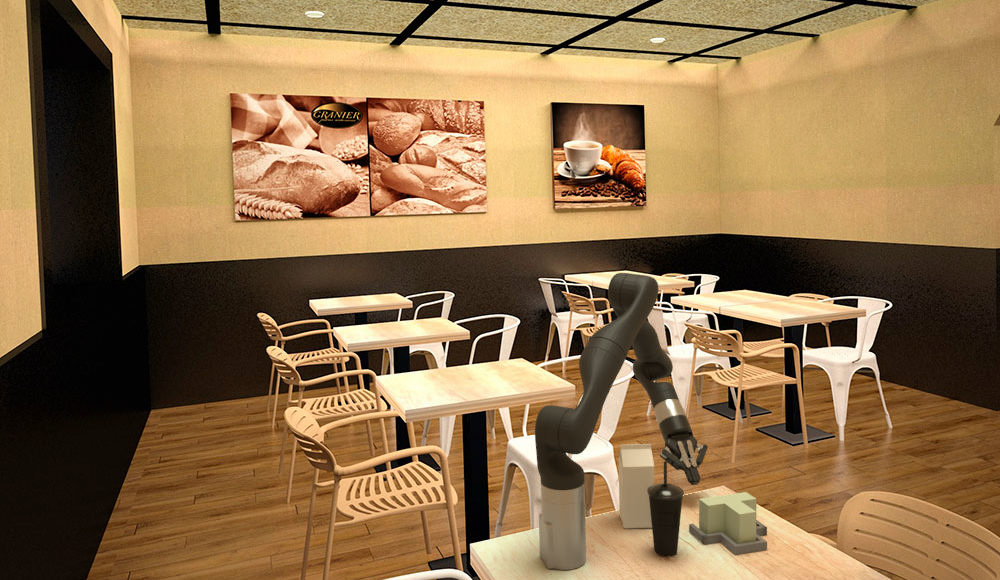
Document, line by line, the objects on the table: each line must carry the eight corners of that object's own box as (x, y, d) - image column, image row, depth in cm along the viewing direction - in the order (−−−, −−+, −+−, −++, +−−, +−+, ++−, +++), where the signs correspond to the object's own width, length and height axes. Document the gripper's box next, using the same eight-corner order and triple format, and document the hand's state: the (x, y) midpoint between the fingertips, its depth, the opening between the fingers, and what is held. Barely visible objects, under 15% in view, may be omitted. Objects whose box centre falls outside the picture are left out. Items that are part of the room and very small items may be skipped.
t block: (723, 552, 152) (723, 516, 151) (699, 532, 162) (699, 498, 161) (772, 544, 155) (772, 509, 154) (746, 525, 165) (746, 492, 164)
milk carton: (654, 528, 165) (654, 449, 162) (623, 529, 165) (622, 450, 163) (648, 515, 172) (648, 439, 169) (619, 515, 172) (618, 439, 170)
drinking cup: (684, 544, 156) (684, 456, 154) (683, 561, 149) (683, 469, 147) (648, 541, 158) (648, 454, 156) (646, 557, 151) (645, 467, 149)
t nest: (718, 557, 150) (718, 549, 150) (689, 531, 162) (689, 524, 162) (783, 547, 154) (783, 539, 154) (750, 522, 166) (750, 515, 166)
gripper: (653, 416, 180) (676, 480, 170) (700, 411, 183) (726, 474, 173) (644, 430, 186) (666, 493, 175) (690, 425, 189) (714, 486, 178)
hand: (695, 483), depth 174 cm, fingers closed
